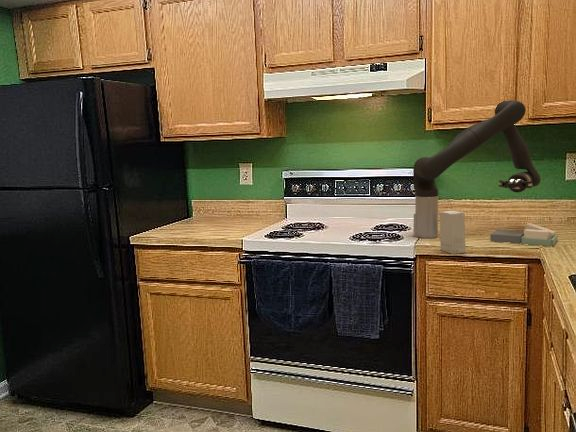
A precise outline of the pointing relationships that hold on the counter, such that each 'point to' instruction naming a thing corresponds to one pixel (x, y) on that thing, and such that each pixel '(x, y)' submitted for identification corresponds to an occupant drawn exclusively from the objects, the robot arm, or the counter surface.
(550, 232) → the beige rectangular block
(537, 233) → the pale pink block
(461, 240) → the skincare box
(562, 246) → the counter surface
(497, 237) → the board
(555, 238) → the tray
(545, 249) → the counter surface
